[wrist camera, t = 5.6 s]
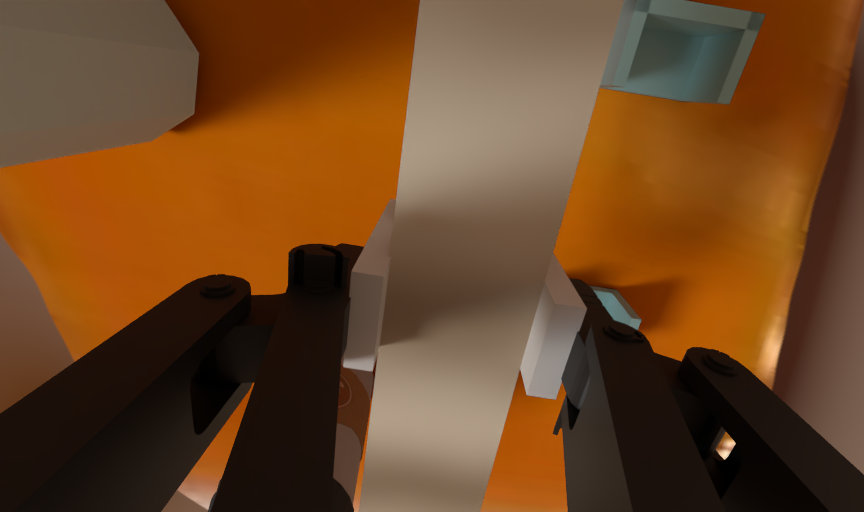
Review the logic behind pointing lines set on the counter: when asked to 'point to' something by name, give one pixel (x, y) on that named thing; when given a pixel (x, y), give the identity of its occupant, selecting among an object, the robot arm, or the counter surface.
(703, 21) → the end caps
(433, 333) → the slat
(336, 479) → the coffee cup
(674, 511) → the robot arm
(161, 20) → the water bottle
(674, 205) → the counter surface
